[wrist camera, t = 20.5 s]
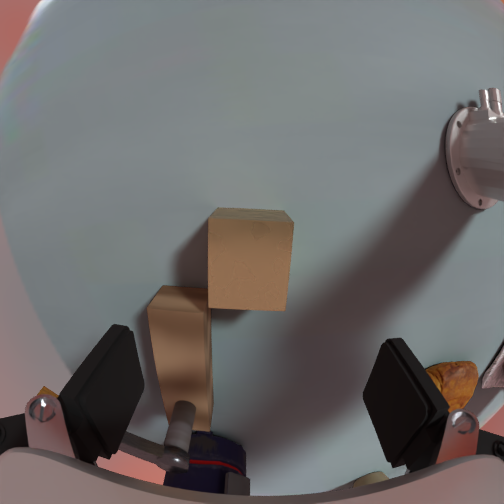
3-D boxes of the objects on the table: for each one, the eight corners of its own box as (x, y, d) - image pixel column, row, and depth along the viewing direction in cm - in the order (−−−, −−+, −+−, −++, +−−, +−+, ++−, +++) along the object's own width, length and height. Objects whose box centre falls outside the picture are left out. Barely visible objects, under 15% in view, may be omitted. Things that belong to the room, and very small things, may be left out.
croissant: (419, 343, 32) (442, 374, 25) (479, 353, 31) (501, 378, 24) (376, 412, 36) (386, 446, 28) (438, 414, 35) (452, 441, 27)
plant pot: (350, 471, 40) (365, 528, 24) (406, 457, 40) (427, 506, 25) (330, 494, 44) (339, 542, 29) (381, 483, 44) (394, 526, 29)
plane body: (162, 285, 27) (119, 349, 16) (210, 288, 27) (189, 359, 16) (176, 399, 32) (158, 465, 21) (213, 403, 32) (204, 472, 21)
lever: (46, 400, 18) (39, 410, 16) (43, 383, 17) (35, 393, 16) (186, 463, 20) (184, 476, 18) (193, 452, 19) (191, 466, 17)
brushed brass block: (218, 207, 25) (208, 218, 19) (283, 210, 25) (294, 222, 19) (217, 278, 27) (208, 307, 21) (278, 281, 27) (285, 311, 21)
